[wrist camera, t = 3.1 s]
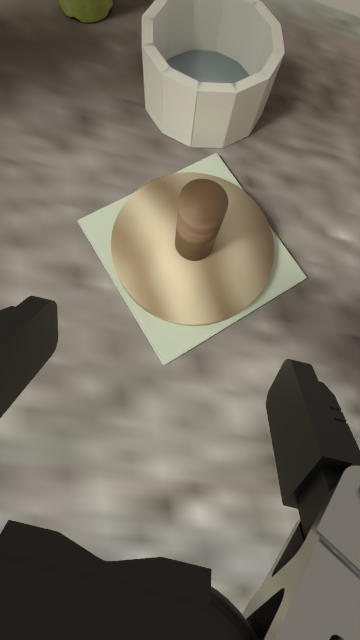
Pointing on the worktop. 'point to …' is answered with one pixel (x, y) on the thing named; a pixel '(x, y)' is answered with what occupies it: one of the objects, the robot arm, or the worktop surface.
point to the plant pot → (86, 9)
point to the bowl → (209, 68)
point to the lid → (192, 248)
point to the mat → (175, 337)
